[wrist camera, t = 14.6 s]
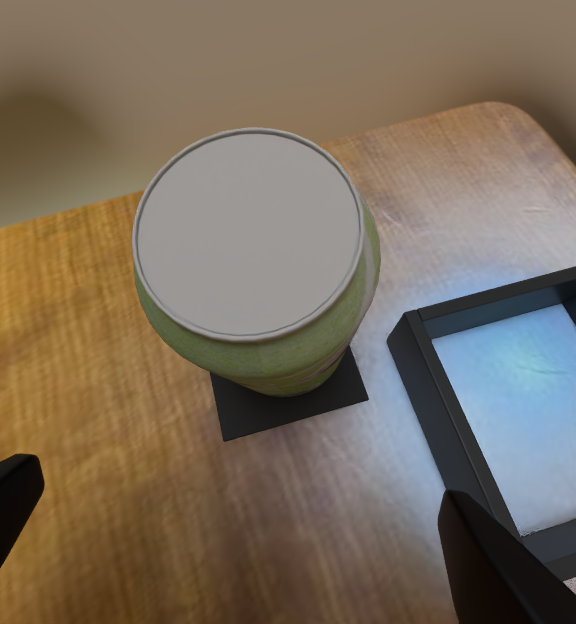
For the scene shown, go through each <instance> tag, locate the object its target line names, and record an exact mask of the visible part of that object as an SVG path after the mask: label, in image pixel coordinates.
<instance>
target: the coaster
mask: <svg viewBox="0 0 576 624" xmlns="http://www.w3.org/2000/svg"><path fill="white" fill-rule="evenodd" d="M210 376H211V381H212V386H213V391H214V396H215V401H216V406H217V411H218V416H219V421H220V426H221V431H222V436H223V441H224V442H225V441H228V440H232V439H235V438H239V437H242V436H246V435H249V434H253V433H256V432H259V431H263V430H266V429H270V428H273V427H277V426H280V425H284V424H287V423H291V422H294V421H297V420H301V419H304V418H308V417H311V416H315V415H318V414H322V413H325V412H329V411H332V410H335V409H339V408H342V407H346V406H349V405H353V404H356V403H360V402H363V401H366V400H369V398H368V395H367V392H366V390H365V387H364V384H363V381H362V379H361V376H360V373H359V370H358V368H357V365H356V362H355V359H354V356H353V354H352V351H351V348H350V345H349V346H348V348H347V350H346V351H345V353H344V355H343V357H342V359H341V361H340V363H339V365H338V367H337V368H336V370H335V371H334V372H333V373H332V375H331V376H330V377H329V378H328V379H327V380H326V381H325V382H323V383H322V384H321V385H320V386H318V387H316V388H315V389H313V390H311V391H309V392H306V393H304V394H301V395H296V396H291V397H275V396H269V395H265V394H262V393H259V392H256V391H254V390H252V389H249V388H247V387H245V386H242V385H240V384H238V383H235V382H233V381H231V380H228V379H226V378H224V377H221V376H219V375H217V374H214V373H212V372H210Z"/></svg>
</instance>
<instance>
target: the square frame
mask: <svg viewBox="0 0 576 624" xmlns="http://www.w3.org/2000/svg"><path fill="white" fill-rule="evenodd" d="M559 303H563V304H564V306H565V307H566V309H567V310H568V312H569V314H570V315H571V317H572V318H573V320H574V321H575V323H576V266H575V267H571V268H568V269H564V270H560V271H557V272H553V273H549V274H545V275H542V276H538V277H534V278H531V279H527V280H523V281H519V282H516V283H512V284H508V285H505V286H501V287H497V288H494V289H490V290H486V291H482V292H479V293H475V294H471V295H468V296H464V297H460V298H456V299H453V300H449V301H445V302H442V303H438V304H434V305H430V306H427V307H423V308H419V309H417V310H412V311H408V312H405V313H404V314H403V315H402V317H401V318H400V320H399V322H398V323H397V325H396V326H395V328H394V329H393V331H392V332H391V334H390V335H389V337H388V338H387V343H388V345H389V348H390V350H391V353H392V355H393V358H394V360H395V363H396V365H397V368H398V370H399V373H400V375H401V377H402V380H403V382H404V385H405V387H406V390H407V392H408V395H409V397H410V400H411V402H412V404H413V407H414V409H415V412H416V414H417V417H418V419H419V422H420V424H421V427H422V429H423V432H424V434H425V436H426V439H427V441H428V444H429V446H430V449H431V451H432V454H433V456H434V459H435V461H436V463H437V466H438V468H439V471H440V473H441V476H442V478H443V481H444V483H445V486H446V488H447V490H448V489H453V490H463V491H466V492H468V493H469V494H470V495H471V496H472V497H473V498H474V499H475V500H476V501H477V502H479V503H480V504H481V505H482V506H483V507H484V508H485V509H486V510H487V511H488V512H489V513H490V514H491V515H492V516H493V517H494V518H495V519H496V520H498V521H499V522H500V523H501V524H502V525H503V526H504V527H505V528H506V529H507V530H508V531H509V532H510V533H511V534H512V535H513V536H514V537H515V538H517V539H518V540H519V541H520V542H521V543H522V544H523V545H524V546H525V547H526V548H527V549H528V550H529V551H530V552H531V553H532V554H533V555H534V556H536V557H537V558H538V559H539V560H540V561H541V562H542V563H543V564H544V565H545V566H546V567H547V568H548V569H549V570H550V571H551V572H552V573H553V574H555V575H556V576H557V577H558V578H559V579H560V580H561V581H562V582H563V581H565V580H568V579H571V578H574V577H576V519H575V520H572V521H569V522H566V523H563V524H560V525H557V526H554V527H551V528H548V529H545V530H543V531H540V532H537V533H534V534H531V535H528V536H525V537H522V538H521V537H520V535H519V532H518V530H517V528H516V526H515V524H514V521H513V519H512V517H511V515H510V513H509V511H508V508H507V506H506V504H505V502H504V500H503V497H502V495H501V493H500V491H499V489H498V486H497V484H496V482H495V480H494V478H493V476H492V473H491V471H490V469H489V467H488V465H487V462H486V460H485V458H484V456H483V454H482V451H481V449H480V447H479V445H478V443H477V441H476V438H475V436H474V434H473V432H472V430H471V427H470V425H469V423H468V421H467V419H466V416H465V414H464V412H463V410H462V408H461V406H460V403H459V401H458V399H457V397H456V395H455V392H454V390H453V388H452V386H451V384H450V381H449V379H448V377H447V375H446V373H445V371H444V368H443V366H442V364H441V362H440V360H439V357H438V355H437V353H436V351H435V349H434V346H433V344H432V342H431V340H430V339H433V338H437V337H440V336H444V335H448V334H451V333H455V332H458V331H462V330H466V329H469V328H473V327H476V326H480V325H484V324H487V323H491V322H494V321H498V320H502V319H505V318H509V317H512V316H516V315H519V314H523V313H527V312H530V311H534V310H537V309H541V308H545V307H548V306H552V305H555V304H559Z"/></svg>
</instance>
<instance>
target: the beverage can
mask: <svg viewBox="0 0 576 624" xmlns="http://www.w3.org/2000/svg"><path fill="white" fill-rule="evenodd" d="M132 250H133V259H134V274H135V285H136V288H137V292H138V296H139V299H140V303H141V306H142V308H143V310H144V312H145V314H146V316H147V318H148V320H149V322H150V324H151V325H152V326H153V328H154V329H155V330H156V332H157V333H158V334H159V335H160V337H161V338H162V339H163V341H164V342H165V343H167V344H168V345H169V346H170V347H171V348H172V349H173V350H175V351H176V352H177V353H178V354H179V355H180V356H182V357H183V358H185V359H187V360H188V361H190V362H192V363H194V364H195V365H197V366H199V367H201V368H203V369H205V370H207V371H210V372H212V373H214V374H217V375H219V376H221V377H224V378H226V379H228V380H231V381H233V382H235V383H238V384H240V385H242V386H245V387H247V388H249V389H252V390H254V391H256V392H259V393H262V394H265V395H269V396H275V397H291V396H296V395H301V394H304V393H306V392H309V391H311V390H313V389H315V388H316V387H318V386H320V385H321V384H322V383H323V382H325V381H326V380H327V379H328V378H329V377H330V376H331V375H332V373H333V372H334V371H335V370H336V368H337V367H338V365H339V363H340V361H341V359H342V357H343V355H344V353H345V351H346V350H347V348H348V346H349V344H350V342H351V340H352V338H353V336H354V335H355V333H356V331H357V329H358V327H359V325H360V323H361V321H362V320H363V318H364V316H365V314H366V312H367V310H368V308H369V306H370V305H371V303H372V300H373V297H374V294H375V290H376V287H377V284H378V280H379V272H380V263H381V255H380V242H379V236H378V232H377V228H376V225H375V221H374V218H373V216H372V214H371V212H370V209H369V207H368V205H367V203H366V201H365V199H364V198H363V197H362V195H361V194H360V192H359V191H358V190H357V188H356V187H355V186H354V184H353V182H352V180H351V178H350V177H349V175H348V174H347V173H346V171H345V170H344V169H343V167H342V166H341V164H340V163H339V162H338V161H336V160H335V159H334V158H333V157H332V156H331V155H330V154H329V153H328V152H327V151H325V150H324V149H322V148H321V147H319V146H318V145H316V144H315V143H313V142H312V141H309V140H307V139H305V138H302V137H300V136H298V135H296V134H293V133H289V132H285V131H281V130H277V129H268V128H239V129H234V130H229V131H224V132H220V133H217V134H214V135H211V136H209V137H206V138H203V139H201V140H199V141H197V142H195V143H193V144H192V145H190V146H188V147H186V148H185V149H183V150H182V151H180V152H179V153H178V154H176V155H175V156H174V157H172V158H171V159H170V160H169V161H168V162H167V163H166V164H165V165H164V166H163V167H162V168H161V169H160V170H159V171H158V172H157V174H156V175H155V177H154V178H153V179H152V181H151V182H150V183H149V185H148V186H147V188H146V190H145V192H144V194H143V196H142V198H141V200H140V202H139V205H138V208H137V211H136V215H135V218H134V222H133V231H132Z"/></svg>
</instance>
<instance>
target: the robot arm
mask: <svg viewBox="0 0 576 624" xmlns="http://www.w3.org/2000/svg"><path fill="white" fill-rule="evenodd" d="M44 484H45V483H44V478H43V474H42V469H41V465H40V461H39V458H38V457H37V456H36V455H32V454H15V455H13V456H11V457H9V458H7V459H5V460H3V461H1V462H0V568H1V566H2V565H3V563H4V561H5V560H6V558H7V556H8V554H9V553H10V551H11V549H12V547H13V546H14V544H15V542H16V540H17V538H18V537H19V535H20V533H21V531H22V529H23V528H24V526H25V524H26V522H27V520H28V519H29V517H30V515H31V513H32V512H33V510H34V508H35V506H36V504H37V503H38V501H39V499H40V497H41V495H42V493H43V490H44ZM438 530H439V535H440V540H441V545H442V550H443V555H444V560H445V564H446V569H447V574H448V579H449V584H450V589H451V593H452V598H453V602H454V607H455V611H456V614H457V618H458V621H459V624H576V594H575V593H573V592H572V591H571V590H570V589H569V588H568V587H567V586H566V585H565V584H564V583H563V582H562V581H561V580H560V579H559V578H558V577H557V576H556V575H555V574H553V573H552V572H551V571H550V570H549V569H548V568H547V567H546V566H545V565H544V564H543V563H542V562H541V561H540V560H539V559H538V558H537V557H536V556H534V555H533V554H532V553H531V552H530V551H529V550H528V549H527V548H526V547H525V546H524V545H523V544H522V543H521V542H520V541H519V540H518V539H517V538H515V537H514V536H513V535H512V534H511V533H510V532H509V531H508V530H507V529H506V528H505V527H504V526H503V525H502V524H501V523H500V522H499V521H498V520H496V519H495V518H494V517H493V516H492V515H491V514H490V513H489V512H488V511H487V510H486V509H485V508H484V507H483V506H482V505H481V504H480V503H479V502H477V501H476V500H475V499H474V498H473V497H472V496H471V495H470V494H469V493H468V492H466V491H463V490H453V489H448V490H446V491H445V492H444V495H443V499H442V503H441V507H440V511H439V515H438Z"/></svg>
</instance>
